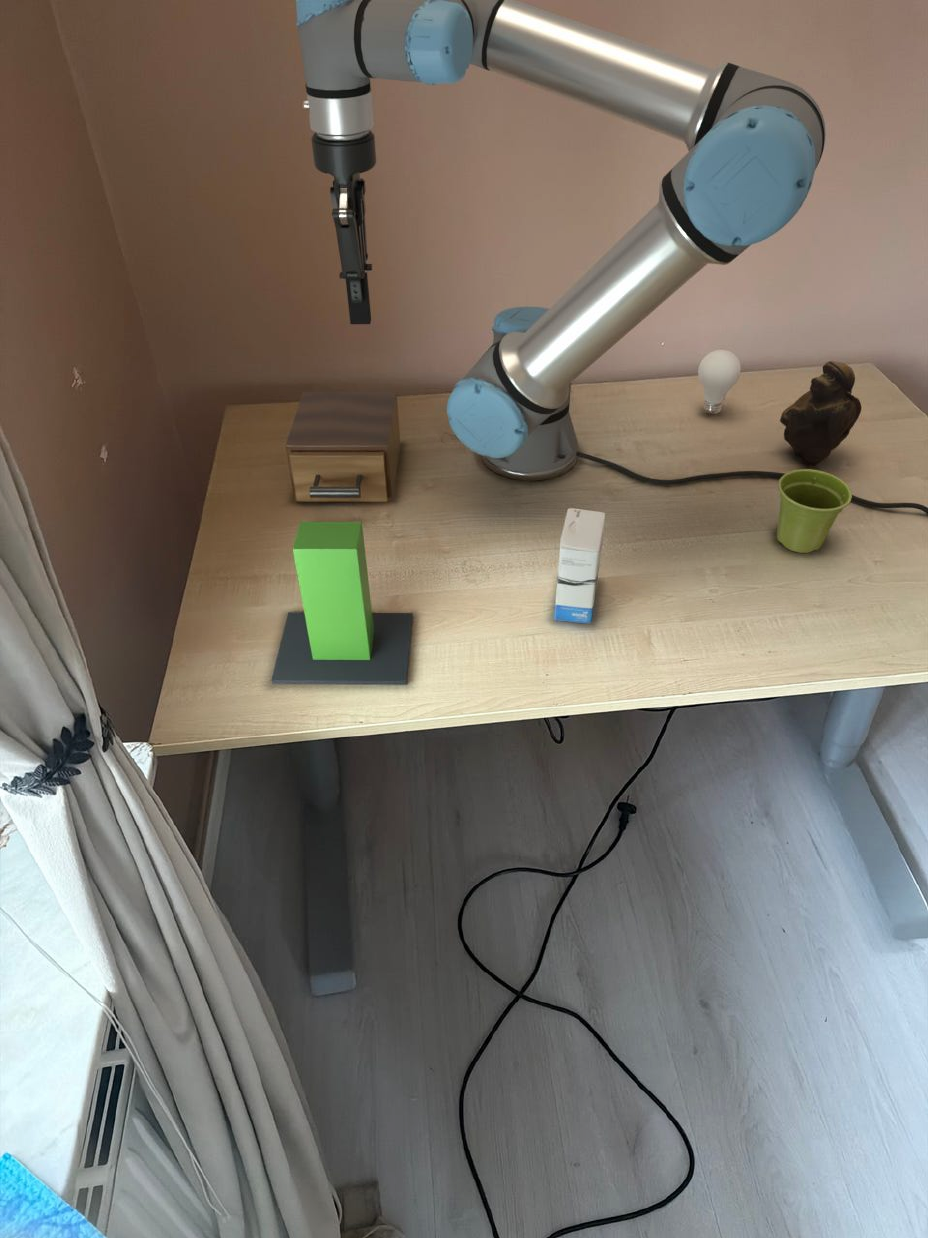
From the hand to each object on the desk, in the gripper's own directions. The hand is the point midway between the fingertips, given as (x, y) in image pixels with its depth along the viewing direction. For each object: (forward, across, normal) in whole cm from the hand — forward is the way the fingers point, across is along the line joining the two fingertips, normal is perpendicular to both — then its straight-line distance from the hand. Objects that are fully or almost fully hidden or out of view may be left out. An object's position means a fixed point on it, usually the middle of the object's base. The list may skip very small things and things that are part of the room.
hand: (360, 321), depth 123 cm
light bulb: (+25, -18, +55) cm, 63 cm away
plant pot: (+25, +17, +61) cm, 68 cm away
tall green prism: (+24, +39, 0) cm, 46 cm away
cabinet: (+24, 0, -4) cm, 25 cm away
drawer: (+24, +4, -4) cm, 24 cm away
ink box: (+25, +30, +29) cm, 48 cm away
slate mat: (+24, +39, 0) cm, 46 cm away
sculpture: (+25, -4, +68) cm, 72 cm away
